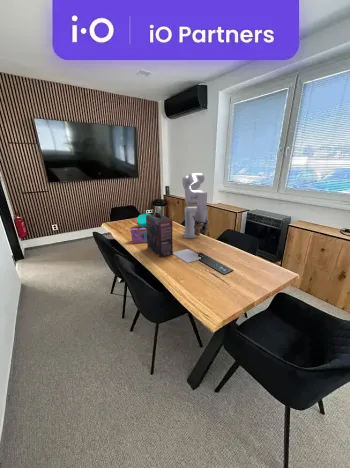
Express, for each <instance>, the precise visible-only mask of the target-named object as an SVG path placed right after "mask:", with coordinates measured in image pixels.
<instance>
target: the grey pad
mask: <svg viewBox="0 0 350 468" xmlns="http://www.w3.org/2000/svg"><path fill="white" fill-rule="evenodd" d="M172 255H174V256H175V257H177V258H179V260H182V261H183V262H185V263H186V264H190V263H193V262H196V261H200V260H202V259H201V257H198V255H199V254H198V253H196V252H194V251H193V250H191V249H188V248H185V249H182V250H178V251H174V252H173V254H172ZM199 259H200V260H199Z"/></svg>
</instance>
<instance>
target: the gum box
mask: <svg viewBox="0 0 350 468" xmlns="http://www.w3.org/2000/svg"><path fill="white" fill-rule="evenodd" d="M129 233H130V234H131V235H130V237H131V240H132V241H131V242H132V244H140V243H147V226H146V227H141V226H135V227H134V226H133V227H131V228H130V232H129Z"/></svg>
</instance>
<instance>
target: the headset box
mask: <svg viewBox="0 0 350 468" xmlns="http://www.w3.org/2000/svg"><path fill="white" fill-rule="evenodd" d="M146 225H147V242H146V245H147V249H148V250H150V251H151V252H153V254H154V255H155V254H156V255H157V256H158V257H159V258H163V257H167V256H171V255H174V254H173V253H174V252H173V251H174V250H173V248H174V247H173V219H172V218H169V217H167V216H165V215H162V214H160V213H158V212H155V211H154V214H151V215H146Z"/></svg>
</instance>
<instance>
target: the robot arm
mask: <svg viewBox="0 0 350 468" xmlns="http://www.w3.org/2000/svg"><path fill="white" fill-rule="evenodd" d="M181 182H182V186H183V189H184V199H185V200H184V201H185V204H186V205H187V206H185V207H184V219H185V220H184V231H182V232H183V235H182V236H183V237H184V238H185V239H195V238H196V237H197V236H196V235H194V229H195V228H194V225H197V224H200V223H203V227H202V230H205V228H206V224H209V223H210V221H209V219H208V215H209V214H208V209H207V204H208V202H207V201H208V192H207V191H205V190H203V189H202V190H200V187H201V184H203V183H204V182H205V175H204V173H202V172H191V173H189V174H188V175H185V176H183V177H182V180H181ZM204 223H205V224H204Z"/></svg>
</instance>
